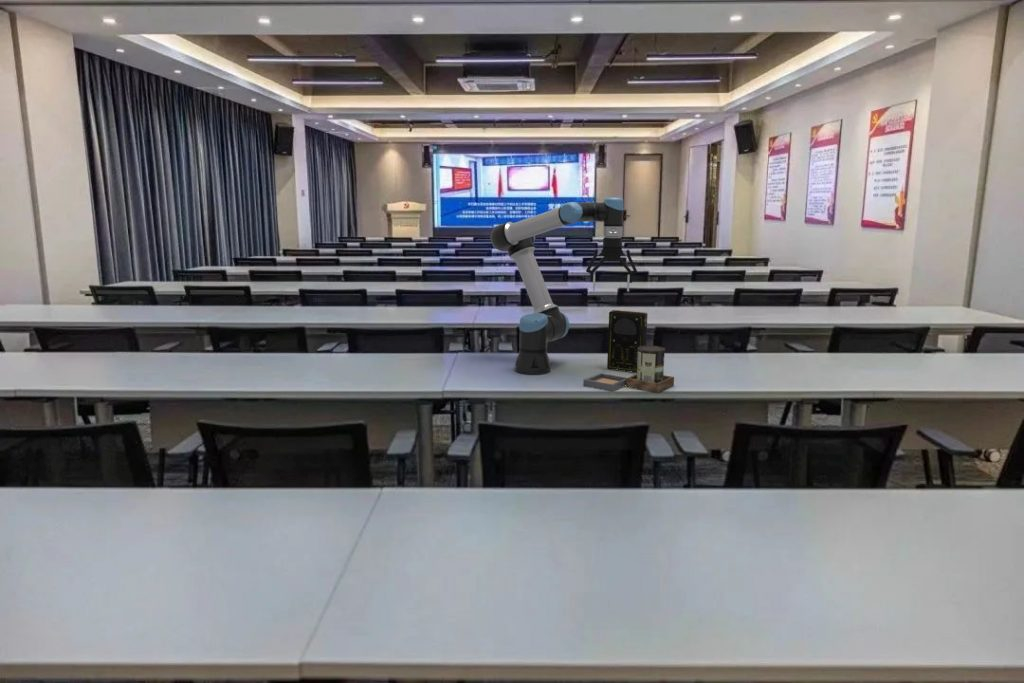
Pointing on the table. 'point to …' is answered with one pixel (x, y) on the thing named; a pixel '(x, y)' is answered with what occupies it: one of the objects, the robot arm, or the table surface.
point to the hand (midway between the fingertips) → (610, 290)
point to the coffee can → (650, 363)
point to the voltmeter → (625, 339)
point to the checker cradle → (605, 382)
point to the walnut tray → (650, 384)
